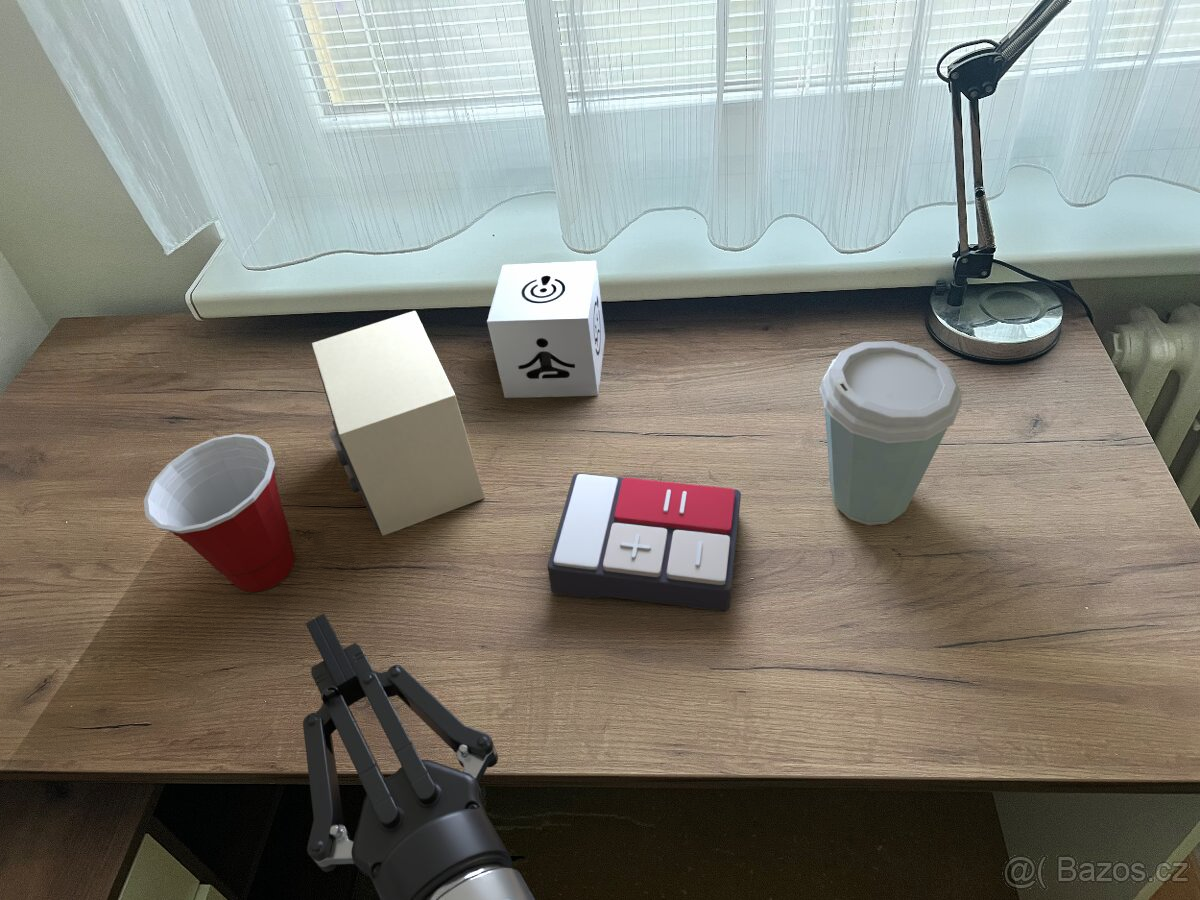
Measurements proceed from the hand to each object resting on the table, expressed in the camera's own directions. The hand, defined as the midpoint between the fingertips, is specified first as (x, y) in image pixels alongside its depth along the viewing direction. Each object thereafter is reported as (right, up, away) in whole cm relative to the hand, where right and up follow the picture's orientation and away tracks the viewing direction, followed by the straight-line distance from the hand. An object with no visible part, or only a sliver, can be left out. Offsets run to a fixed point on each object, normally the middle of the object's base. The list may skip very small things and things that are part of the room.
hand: (320, 628), depth 66 cm
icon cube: (+16, +22, +30) cm, 41 cm away
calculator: (+25, +4, +11) cm, 28 cm away
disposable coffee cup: (+45, +9, +12) cm, 48 cm away
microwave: (+3, +12, +21) cm, 24 cm away
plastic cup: (-10, +3, +14) cm, 17 cm away
